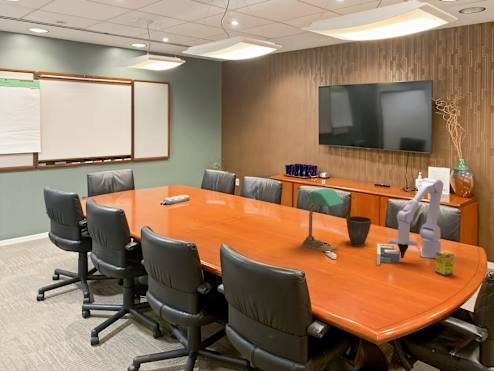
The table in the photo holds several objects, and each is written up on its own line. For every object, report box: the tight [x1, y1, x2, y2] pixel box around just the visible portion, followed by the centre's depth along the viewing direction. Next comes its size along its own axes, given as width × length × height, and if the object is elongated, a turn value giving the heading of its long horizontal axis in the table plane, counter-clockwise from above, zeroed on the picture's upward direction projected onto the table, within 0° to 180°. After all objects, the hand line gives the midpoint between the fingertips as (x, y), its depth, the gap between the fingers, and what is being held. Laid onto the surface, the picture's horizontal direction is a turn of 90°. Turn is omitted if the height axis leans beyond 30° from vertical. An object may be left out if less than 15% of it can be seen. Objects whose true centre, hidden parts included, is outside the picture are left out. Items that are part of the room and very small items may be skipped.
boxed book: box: [383, 249, 401, 264], centre depth 232 cm, size 8×4×6 cm, turn 76°
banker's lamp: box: [301, 188, 344, 253], centre depth 252 cm, size 16×21×35 cm
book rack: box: [376, 243, 395, 266], centre depth 233 cm, size 9×19×6 cm, turn 164°
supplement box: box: [434, 249, 455, 277], centre depth 213 cm, size 6×6×11 cm
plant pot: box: [345, 215, 373, 247], centre depth 261 cm, size 15×15×16 cm
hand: (402, 257), depth 230 cm, fingers closed
